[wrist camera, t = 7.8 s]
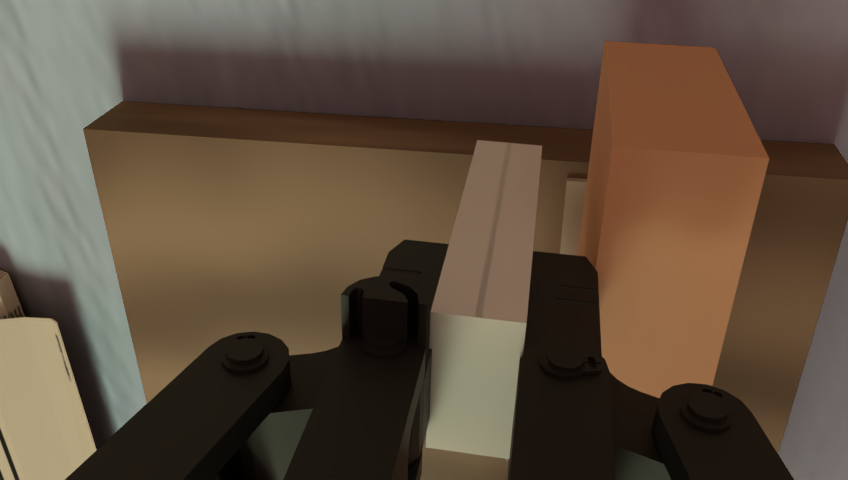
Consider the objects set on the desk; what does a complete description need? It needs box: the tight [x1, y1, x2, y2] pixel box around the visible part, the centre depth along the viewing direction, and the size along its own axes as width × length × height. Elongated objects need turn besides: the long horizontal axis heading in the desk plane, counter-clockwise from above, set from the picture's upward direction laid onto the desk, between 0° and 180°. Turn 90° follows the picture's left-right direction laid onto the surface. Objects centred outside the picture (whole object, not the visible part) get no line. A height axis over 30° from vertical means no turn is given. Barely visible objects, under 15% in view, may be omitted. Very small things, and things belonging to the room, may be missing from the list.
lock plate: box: [83, 102, 848, 480], centre depth 26 cm, size 13×22×4 cm, turn 90°
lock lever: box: [506, 41, 769, 480], centre depth 19 cm, size 5×14×6 cm, turn 179°
